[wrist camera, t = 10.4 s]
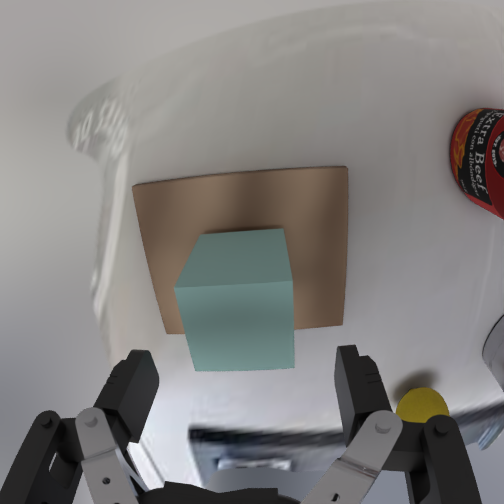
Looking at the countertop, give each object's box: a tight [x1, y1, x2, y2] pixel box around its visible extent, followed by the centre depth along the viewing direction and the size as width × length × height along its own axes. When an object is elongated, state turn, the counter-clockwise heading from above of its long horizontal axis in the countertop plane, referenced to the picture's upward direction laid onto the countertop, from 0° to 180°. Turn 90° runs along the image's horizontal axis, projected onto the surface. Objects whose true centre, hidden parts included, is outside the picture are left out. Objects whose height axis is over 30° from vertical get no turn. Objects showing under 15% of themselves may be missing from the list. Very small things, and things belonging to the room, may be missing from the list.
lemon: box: [396, 387, 450, 423], centre depth 24 cm, size 6×6×8 cm
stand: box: [132, 166, 348, 334], centre depth 19 cm, size 14×12×8 cm
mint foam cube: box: [174, 228, 294, 371], centre depth 17 cm, size 5×5×7 cm
